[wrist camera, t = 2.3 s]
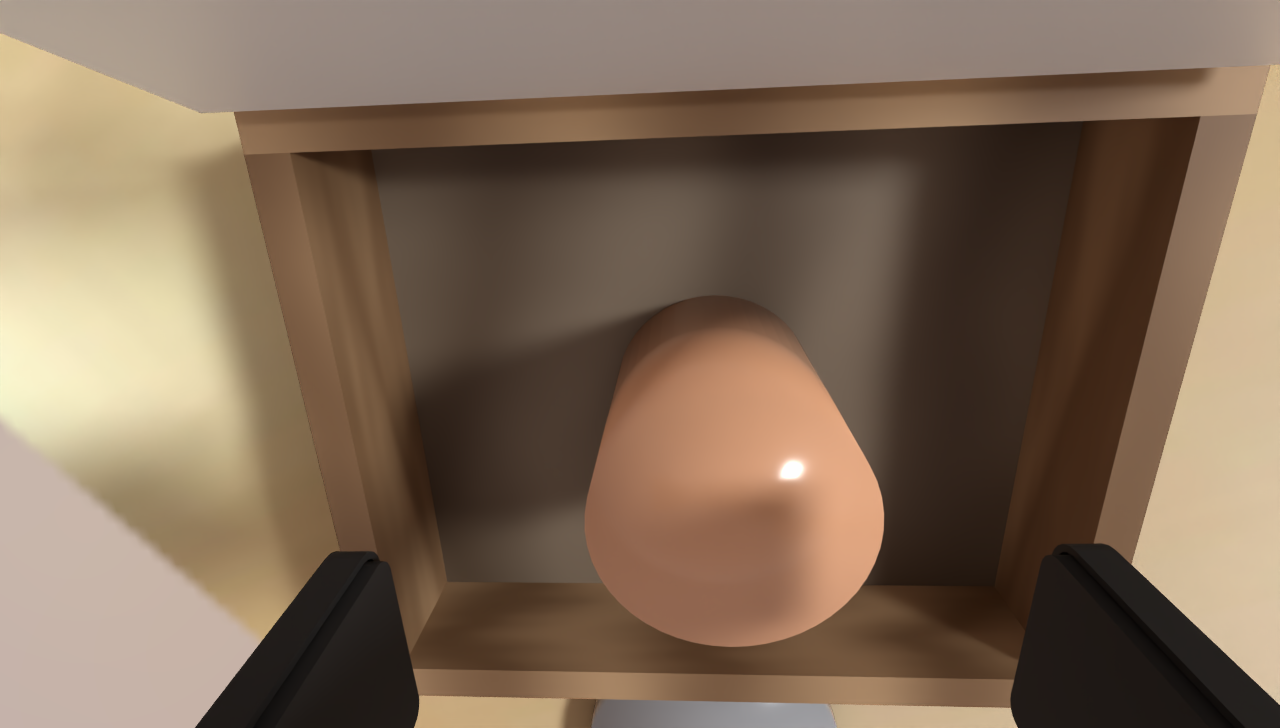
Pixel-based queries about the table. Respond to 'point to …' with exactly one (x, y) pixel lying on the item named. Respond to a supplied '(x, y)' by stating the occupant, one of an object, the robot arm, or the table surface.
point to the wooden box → (780, 282)
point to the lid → (615, 44)
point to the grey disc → (709, 714)
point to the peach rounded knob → (728, 481)
